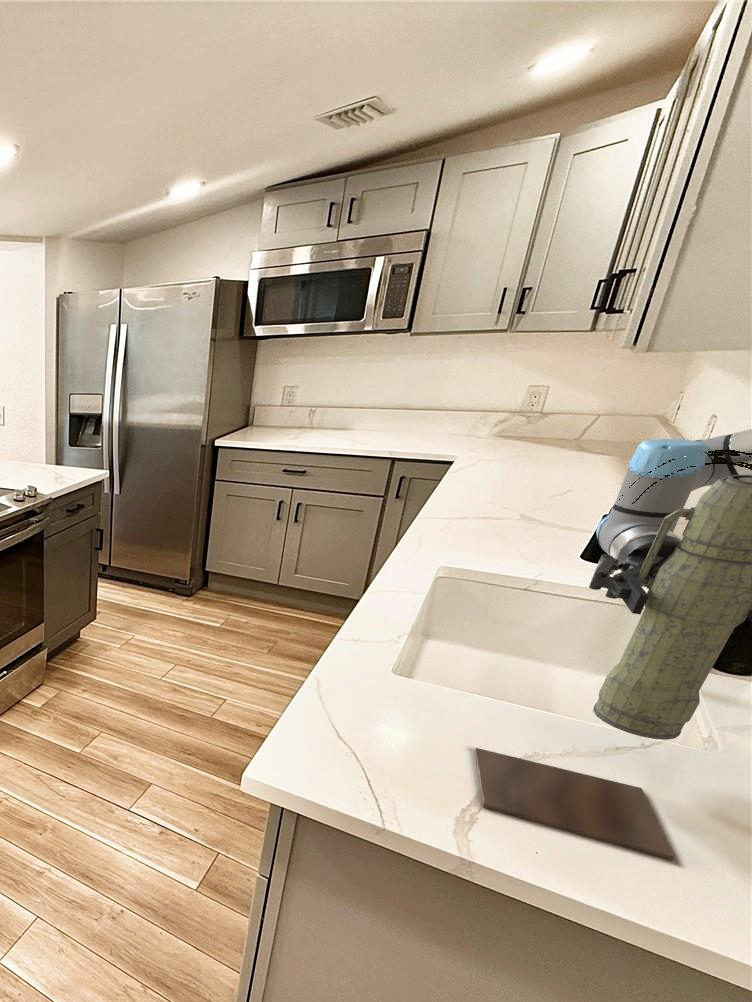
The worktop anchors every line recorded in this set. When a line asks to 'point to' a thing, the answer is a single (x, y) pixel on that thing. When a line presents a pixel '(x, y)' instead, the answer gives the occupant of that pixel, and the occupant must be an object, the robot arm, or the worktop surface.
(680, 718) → the thermos
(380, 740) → the worktop surface
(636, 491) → the robot arm
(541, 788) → the board
